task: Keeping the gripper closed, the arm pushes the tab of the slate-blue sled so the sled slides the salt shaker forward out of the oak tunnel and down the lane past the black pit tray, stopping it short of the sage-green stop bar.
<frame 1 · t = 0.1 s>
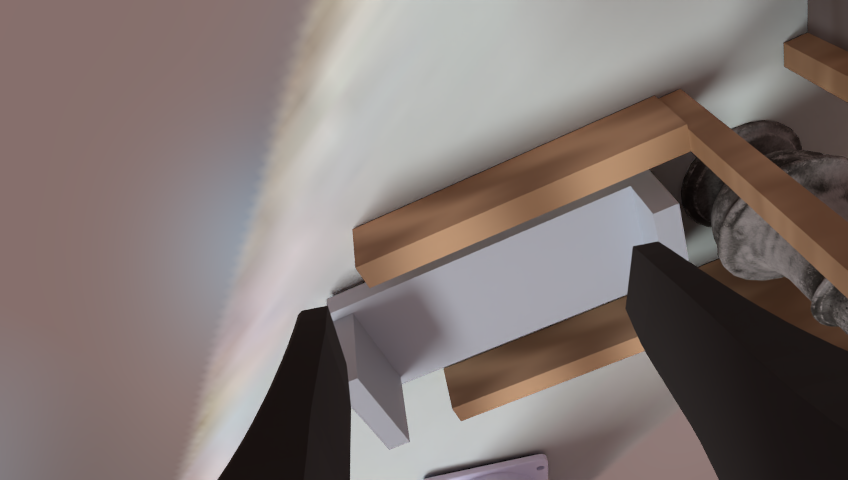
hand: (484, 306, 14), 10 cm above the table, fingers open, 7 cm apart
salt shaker: (737, 174, 26), on the table
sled: (513, 314, 25), point 3 cm above the table, slide at 0.0 cm
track: (740, 176, 25), on the table
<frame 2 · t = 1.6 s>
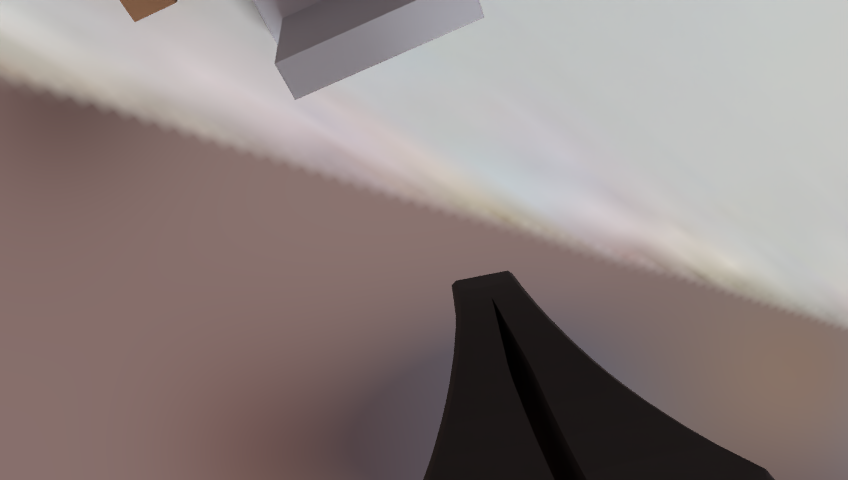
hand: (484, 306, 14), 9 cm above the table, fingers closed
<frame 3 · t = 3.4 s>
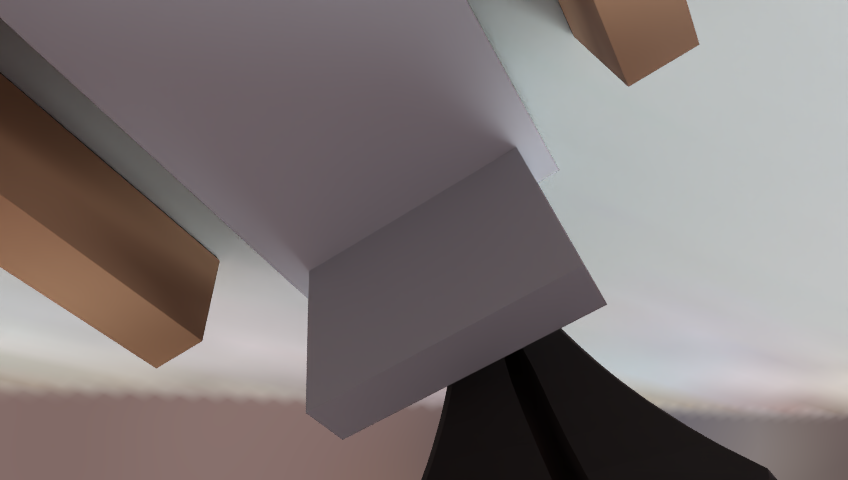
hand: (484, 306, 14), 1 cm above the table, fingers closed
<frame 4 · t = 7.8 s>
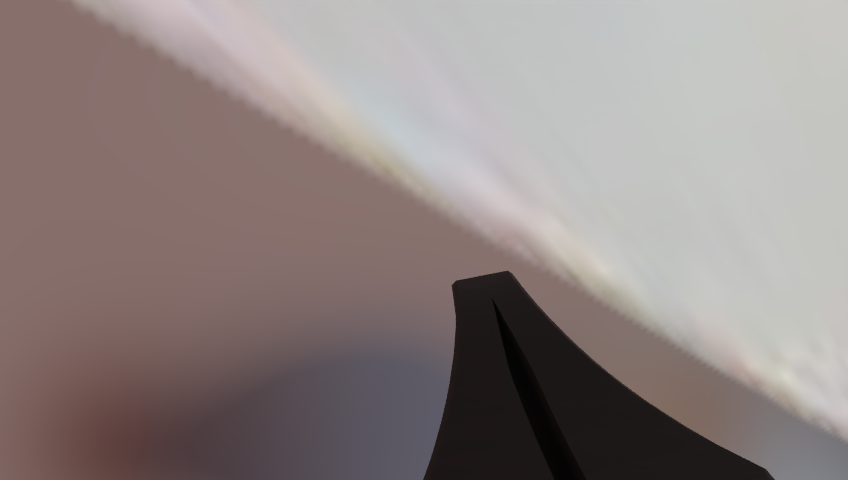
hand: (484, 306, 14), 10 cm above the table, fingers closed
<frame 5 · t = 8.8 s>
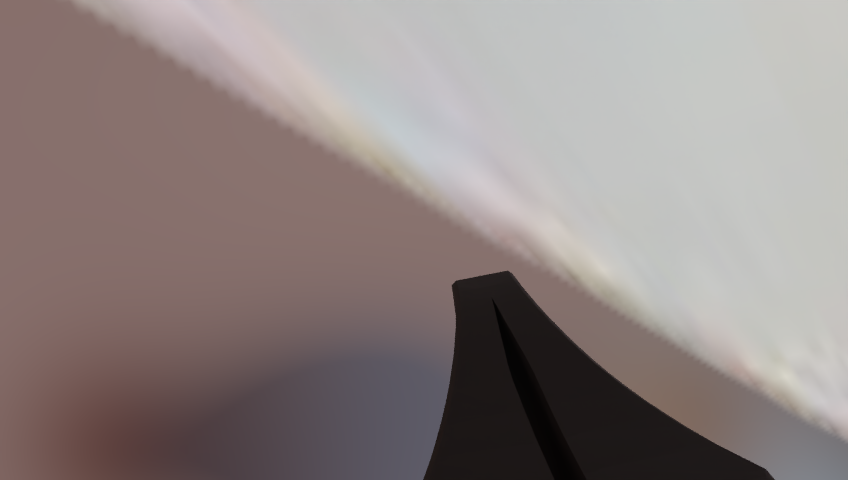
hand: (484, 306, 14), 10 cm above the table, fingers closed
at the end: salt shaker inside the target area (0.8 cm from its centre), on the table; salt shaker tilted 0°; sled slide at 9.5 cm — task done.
